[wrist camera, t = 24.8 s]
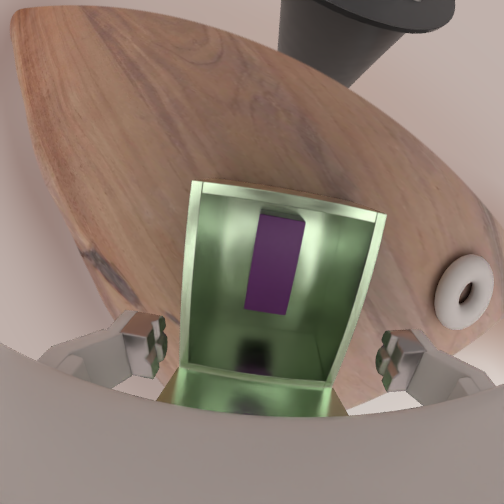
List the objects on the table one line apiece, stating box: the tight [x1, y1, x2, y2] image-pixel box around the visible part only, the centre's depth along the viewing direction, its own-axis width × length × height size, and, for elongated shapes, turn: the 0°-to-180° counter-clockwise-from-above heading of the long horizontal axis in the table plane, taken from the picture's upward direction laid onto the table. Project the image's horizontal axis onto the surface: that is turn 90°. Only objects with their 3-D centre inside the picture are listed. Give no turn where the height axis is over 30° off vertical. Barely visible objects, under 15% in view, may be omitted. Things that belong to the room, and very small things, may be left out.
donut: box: [434, 254, 494, 330], centre depth 26 cm, size 10×3×10 cm
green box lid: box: [156, 367, 349, 417], centre depth 13 cm, size 16×14×5 cm
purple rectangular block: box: [244, 210, 306, 315], centre depth 26 cm, size 9×4×3 cm, turn 171°
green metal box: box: [179, 178, 387, 388], centre depth 24 cm, size 16×14×9 cm
